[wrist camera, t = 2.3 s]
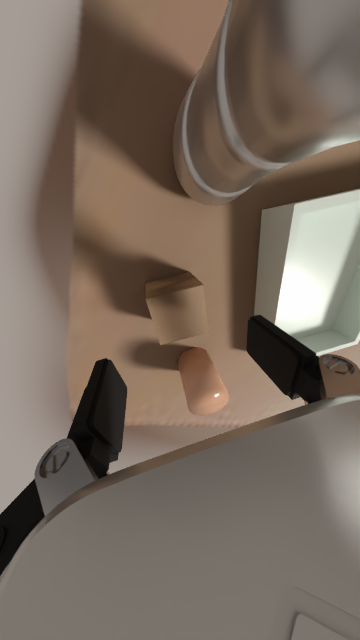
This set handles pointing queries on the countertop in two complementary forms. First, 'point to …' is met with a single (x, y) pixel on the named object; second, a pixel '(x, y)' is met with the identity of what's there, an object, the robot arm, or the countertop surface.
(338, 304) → the box
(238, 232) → the countertop surface
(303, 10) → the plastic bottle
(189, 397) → the tan rounded-top part
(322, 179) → the countertop surface
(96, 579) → the robot arm
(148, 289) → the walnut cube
